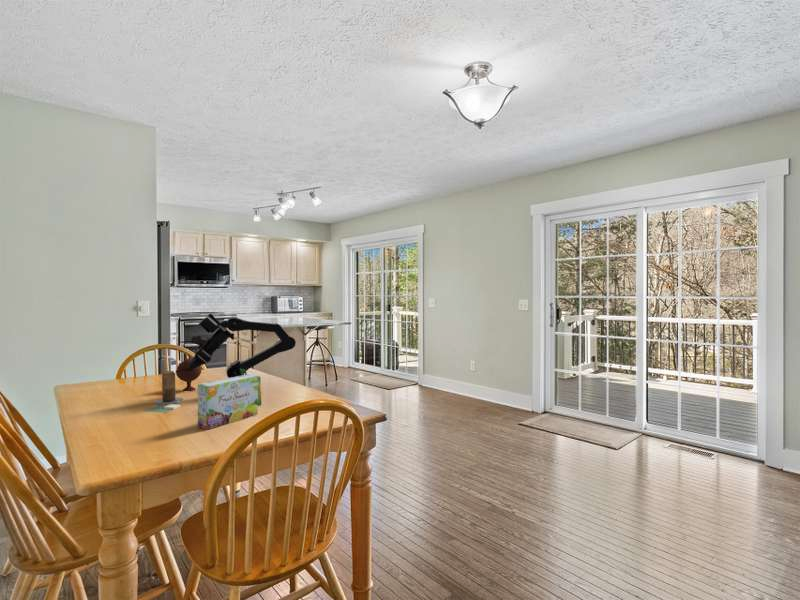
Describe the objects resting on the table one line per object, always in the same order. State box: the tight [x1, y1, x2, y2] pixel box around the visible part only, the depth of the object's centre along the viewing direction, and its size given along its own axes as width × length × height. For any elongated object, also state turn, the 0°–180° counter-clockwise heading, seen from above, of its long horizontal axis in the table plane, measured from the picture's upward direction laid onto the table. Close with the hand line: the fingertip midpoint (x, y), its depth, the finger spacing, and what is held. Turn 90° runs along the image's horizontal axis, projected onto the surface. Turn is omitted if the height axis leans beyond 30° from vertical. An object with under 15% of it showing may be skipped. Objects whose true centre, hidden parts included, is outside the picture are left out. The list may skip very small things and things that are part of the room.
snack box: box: [197, 373, 259, 431], centre depth 154 cm, size 21×6×15 cm, turn 148°
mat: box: [144, 404, 181, 414], centre depth 169 cm, size 10×8×1 cm
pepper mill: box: [161, 370, 176, 402], centre depth 180 cm, size 5×5×12 cm
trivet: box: [153, 396, 185, 406], centre depth 181 cm, size 11×11×1 cm
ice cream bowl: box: [175, 357, 202, 392], centre depth 201 cm, size 11×11×15 cm
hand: (188, 368), depth 183 cm, fingers open, 9 cm apart
